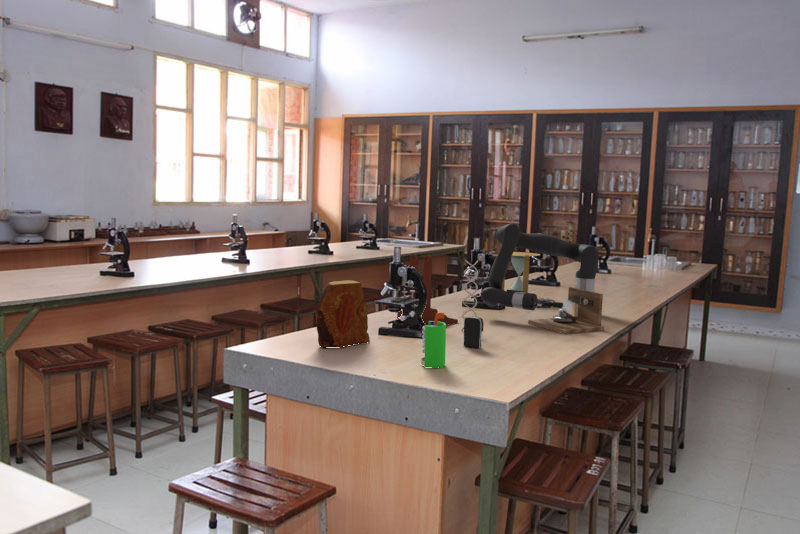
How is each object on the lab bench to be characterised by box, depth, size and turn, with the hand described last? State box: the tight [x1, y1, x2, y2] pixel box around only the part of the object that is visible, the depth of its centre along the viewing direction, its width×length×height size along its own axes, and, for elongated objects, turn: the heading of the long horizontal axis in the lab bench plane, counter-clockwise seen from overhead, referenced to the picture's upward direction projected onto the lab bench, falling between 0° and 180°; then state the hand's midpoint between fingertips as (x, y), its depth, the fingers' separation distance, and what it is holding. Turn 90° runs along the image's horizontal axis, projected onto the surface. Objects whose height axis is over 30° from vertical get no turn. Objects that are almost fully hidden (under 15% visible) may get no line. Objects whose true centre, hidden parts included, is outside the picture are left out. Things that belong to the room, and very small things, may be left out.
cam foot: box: [552, 298, 578, 323], centre depth 307 cm, size 20×10×10 cm, turn 5°
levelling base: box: [527, 287, 605, 335], centre depth 307 cm, size 22×24×16 cm
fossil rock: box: [314, 279, 371, 348], centre depth 260 cm, size 24×8×24 cm, turn 128°
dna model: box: [461, 259, 479, 332], centre depth 289 cm, size 7×6×30 cm
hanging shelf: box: [396, 253, 459, 326], centre depth 312 cm, size 24×13×30 cm, turn 47°
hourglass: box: [502, 251, 541, 293], centre depth 381 cm, size 24×22×25 cm
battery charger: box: [463, 315, 484, 349], centre depth 264 cm, size 7×4×11 cm, turn 55°
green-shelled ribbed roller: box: [420, 311, 447, 369], centre depth 235 cm, size 9×8×18 cm
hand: (562, 305), depth 303 cm, fingers closed
